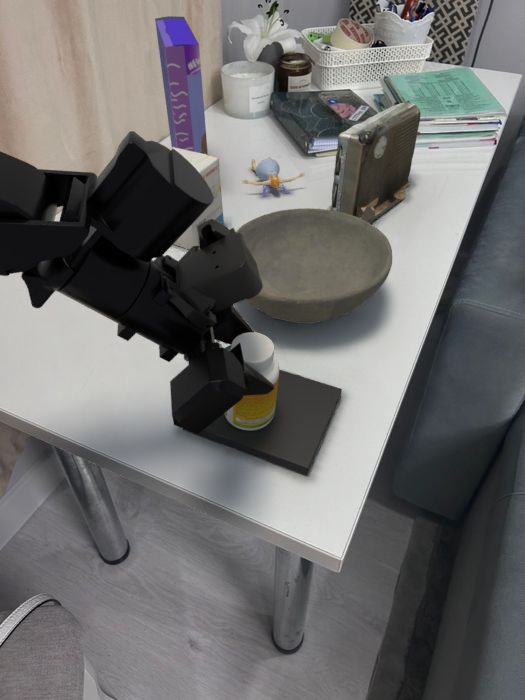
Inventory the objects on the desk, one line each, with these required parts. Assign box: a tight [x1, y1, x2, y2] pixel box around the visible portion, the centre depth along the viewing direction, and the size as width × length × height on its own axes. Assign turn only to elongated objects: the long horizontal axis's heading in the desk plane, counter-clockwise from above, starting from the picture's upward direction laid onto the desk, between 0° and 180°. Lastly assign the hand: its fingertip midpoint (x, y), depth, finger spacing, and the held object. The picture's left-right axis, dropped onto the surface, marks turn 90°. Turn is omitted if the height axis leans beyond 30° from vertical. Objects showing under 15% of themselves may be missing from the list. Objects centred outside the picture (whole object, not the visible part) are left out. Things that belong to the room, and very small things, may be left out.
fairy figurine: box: [242, 156, 305, 198], centre depth 93 cm, size 12×5×12 cm
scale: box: [181, 344, 343, 477], centre depth 55 cm, size 14×12×3 cm
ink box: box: [169, 146, 225, 250], centre depth 78 cm, size 8×8×12 cm
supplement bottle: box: [225, 331, 280, 431], centre depth 50 cm, size 5×5×10 cm
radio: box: [326, 100, 421, 224], centre depth 84 cm, size 23×9×15 cm, turn 137°
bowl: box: [235, 208, 393, 324], centre depth 67 cm, size 21×21×8 cm
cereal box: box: [154, 15, 209, 155], centre depth 87 cm, size 17×5×24 cm, turn 13°
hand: (265, 368), depth 49 cm, fingers closed on supplement bottle, 5 cm apart
